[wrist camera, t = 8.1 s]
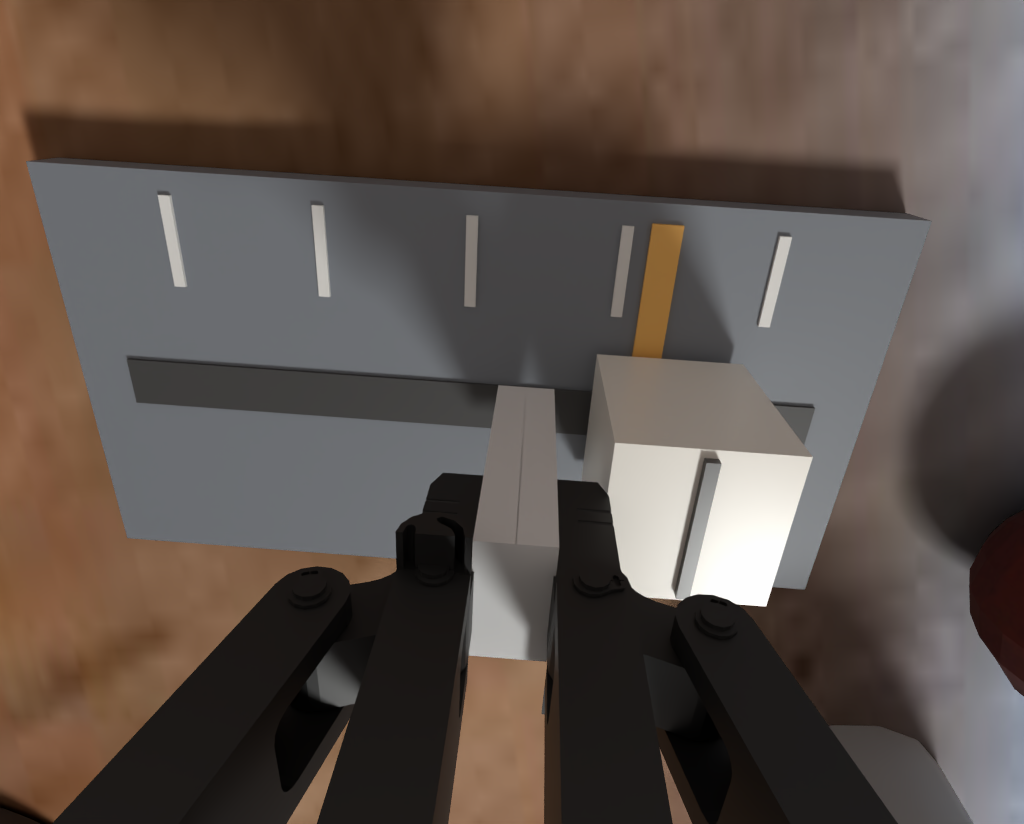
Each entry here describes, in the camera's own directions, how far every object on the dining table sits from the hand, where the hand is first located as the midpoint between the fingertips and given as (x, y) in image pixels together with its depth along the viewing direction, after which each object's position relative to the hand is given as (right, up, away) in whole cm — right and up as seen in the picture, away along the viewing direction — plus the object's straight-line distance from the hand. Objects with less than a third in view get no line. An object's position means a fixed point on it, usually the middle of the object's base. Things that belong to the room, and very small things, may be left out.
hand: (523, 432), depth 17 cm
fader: (+4, 0, +1) cm, 4 cm away
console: (-2, +1, +3) cm, 3 cm away
